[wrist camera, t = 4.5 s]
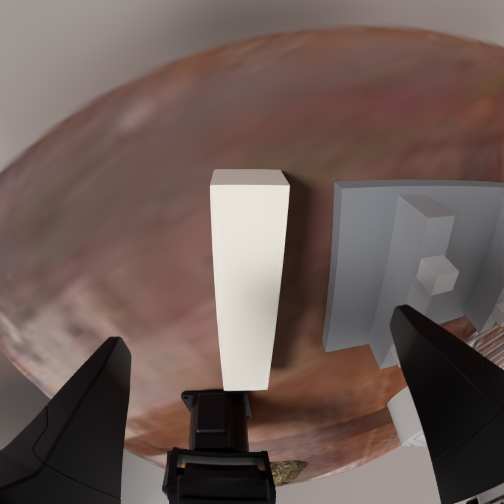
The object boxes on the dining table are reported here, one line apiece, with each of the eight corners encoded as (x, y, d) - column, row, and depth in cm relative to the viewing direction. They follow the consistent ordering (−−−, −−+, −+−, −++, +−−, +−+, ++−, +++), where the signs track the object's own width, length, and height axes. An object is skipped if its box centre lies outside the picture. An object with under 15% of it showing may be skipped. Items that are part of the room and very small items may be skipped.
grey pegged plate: (524, 184, 15) (567, 213, 10) (487, 297, 21) (515, 333, 16) (334, 181, 14) (383, 230, 9) (322, 341, 21) (340, 401, 16)
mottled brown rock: (242, 473, 47) (243, 492, 43) (245, 461, 41) (247, 484, 36) (297, 469, 48) (300, 487, 44) (311, 456, 42) (315, 477, 38)
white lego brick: (448, 388, 33) (467, 427, 25) (381, 416, 33) (396, 462, 26) (470, 352, 27) (497, 397, 20) (394, 386, 28) (417, 443, 21)
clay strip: (264, 360, 23) (267, 389, 20) (224, 361, 22) (223, 390, 20) (279, 168, 14) (290, 185, 12) (214, 167, 14) (210, 185, 12)
